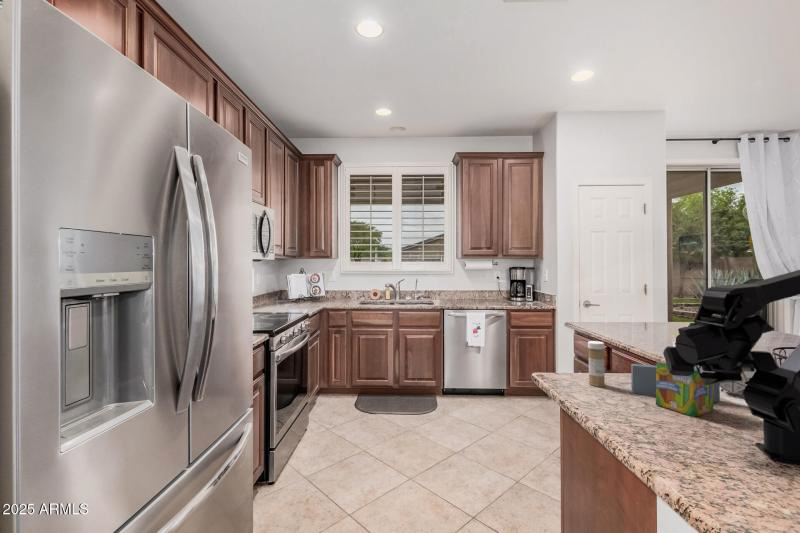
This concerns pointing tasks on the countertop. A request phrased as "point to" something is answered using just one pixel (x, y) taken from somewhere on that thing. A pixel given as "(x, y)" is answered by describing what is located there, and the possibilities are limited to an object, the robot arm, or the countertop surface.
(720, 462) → the countertop surface
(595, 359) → the sprinkles bottle
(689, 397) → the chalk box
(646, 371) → the board
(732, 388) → the game die
